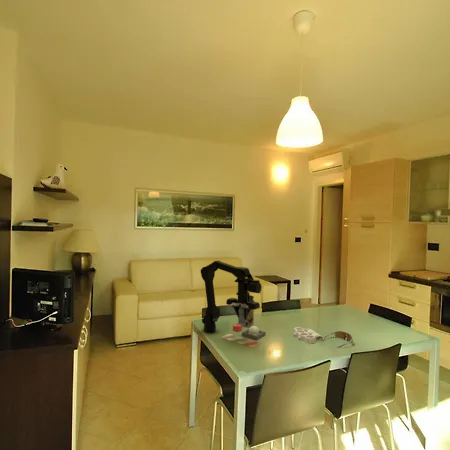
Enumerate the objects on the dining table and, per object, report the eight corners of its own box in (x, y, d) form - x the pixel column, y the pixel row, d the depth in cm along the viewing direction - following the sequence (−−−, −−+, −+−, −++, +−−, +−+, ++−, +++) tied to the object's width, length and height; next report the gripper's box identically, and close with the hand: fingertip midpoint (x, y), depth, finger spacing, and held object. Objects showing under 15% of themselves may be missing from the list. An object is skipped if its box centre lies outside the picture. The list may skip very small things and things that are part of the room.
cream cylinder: (246, 336, 178) (246, 326, 178) (251, 333, 183) (252, 323, 183) (255, 338, 175) (255, 328, 175) (260, 335, 180) (261, 325, 179)
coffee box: (246, 328, 193) (247, 303, 193) (237, 326, 197) (238, 301, 196) (253, 325, 200) (254, 300, 200) (245, 322, 204) (246, 298, 204)
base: (241, 337, 178) (241, 332, 178) (250, 332, 186) (250, 328, 186) (256, 342, 172) (256, 336, 172) (265, 337, 180) (265, 331, 180)
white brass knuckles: (326, 343, 175) (302, 344, 171) (309, 331, 192) (288, 333, 189) (326, 337, 175) (302, 338, 171) (309, 326, 192) (288, 327, 189)
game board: (219, 339, 174) (219, 337, 173) (229, 334, 182) (229, 332, 182) (252, 350, 161) (252, 348, 161) (262, 344, 169) (262, 342, 169)
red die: (232, 332, 186) (232, 325, 186) (236, 330, 189) (236, 323, 189) (238, 333, 184) (238, 326, 184) (241, 331, 187) (242, 325, 187)
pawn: (236, 322, 170) (236, 307, 170) (241, 320, 174) (241, 305, 174) (243, 324, 167) (243, 308, 167) (248, 322, 171) (248, 306, 171)
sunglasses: (358, 344, 174) (357, 336, 173) (339, 353, 166) (339, 344, 166) (337, 336, 186) (337, 328, 186) (319, 343, 179) (319, 335, 178)
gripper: (264, 290, 172) (264, 318, 171) (236, 286, 182) (236, 312, 182) (254, 294, 162) (254, 323, 162) (225, 289, 173) (225, 317, 173)
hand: (242, 319), depth 170 cm, fingers closed on pawn, 4 cm apart
